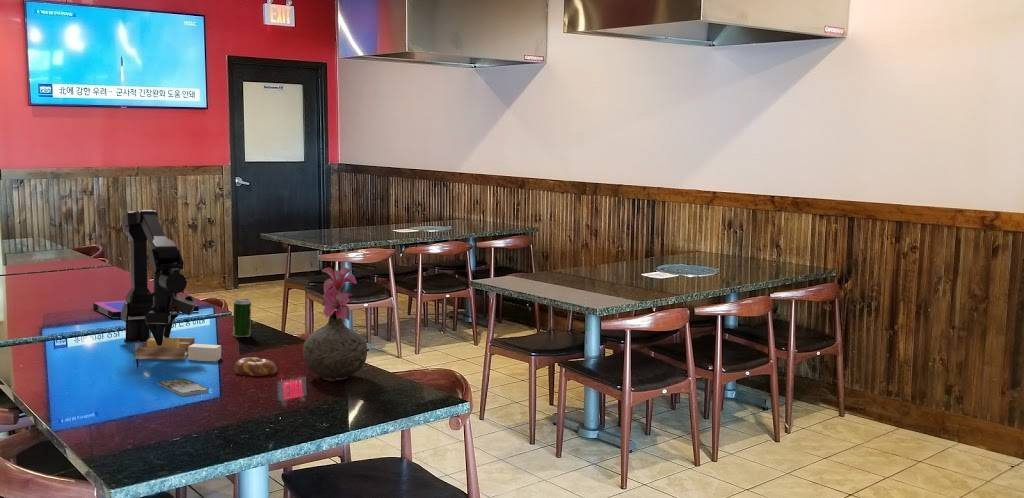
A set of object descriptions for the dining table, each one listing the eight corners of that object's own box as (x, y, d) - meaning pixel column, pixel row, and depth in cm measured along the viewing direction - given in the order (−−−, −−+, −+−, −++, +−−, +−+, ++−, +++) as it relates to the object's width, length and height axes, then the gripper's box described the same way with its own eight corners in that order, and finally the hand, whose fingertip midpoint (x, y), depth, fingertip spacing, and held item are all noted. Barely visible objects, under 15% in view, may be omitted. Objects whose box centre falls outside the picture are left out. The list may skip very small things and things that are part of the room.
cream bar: (187, 360, 250) (188, 346, 250) (193, 357, 254) (193, 343, 254) (215, 362, 250) (215, 348, 249) (220, 358, 254) (221, 345, 253)
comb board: (135, 358, 248) (135, 348, 248) (149, 346, 264) (149, 336, 263) (183, 359, 250) (183, 349, 250) (194, 347, 266) (194, 337, 265)
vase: (311, 388, 227) (314, 272, 224) (295, 372, 242) (297, 264, 239) (373, 383, 235) (377, 271, 232) (354, 368, 250) (357, 263, 247)
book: (93, 302, 316) (176, 297, 336) (93, 310, 317) (176, 305, 337) (112, 312, 301) (198, 305, 321) (112, 320, 301) (198, 313, 321)
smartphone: (184, 378, 229) (210, 389, 219) (184, 382, 229) (210, 393, 219) (155, 381, 224) (181, 393, 213) (155, 386, 224) (181, 397, 213)
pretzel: (286, 371, 244) (286, 358, 244) (262, 380, 234) (262, 366, 233) (250, 365, 248) (250, 352, 248) (224, 373, 238) (225, 360, 237)
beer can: (235, 338, 281) (236, 301, 279) (231, 335, 285) (231, 298, 284) (252, 337, 284) (253, 300, 282) (247, 334, 288) (248, 298, 287)
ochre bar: (147, 354, 251) (147, 340, 250) (150, 351, 254) (150, 337, 254) (176, 354, 252) (176, 340, 251) (179, 351, 256) (179, 338, 255)
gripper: (187, 294, 243) (186, 349, 245) (199, 284, 262) (198, 335, 263) (144, 293, 242) (144, 349, 243) (160, 283, 260) (159, 335, 261)
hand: (163, 342), depth 253 cm, fingers open, 9 cm apart
